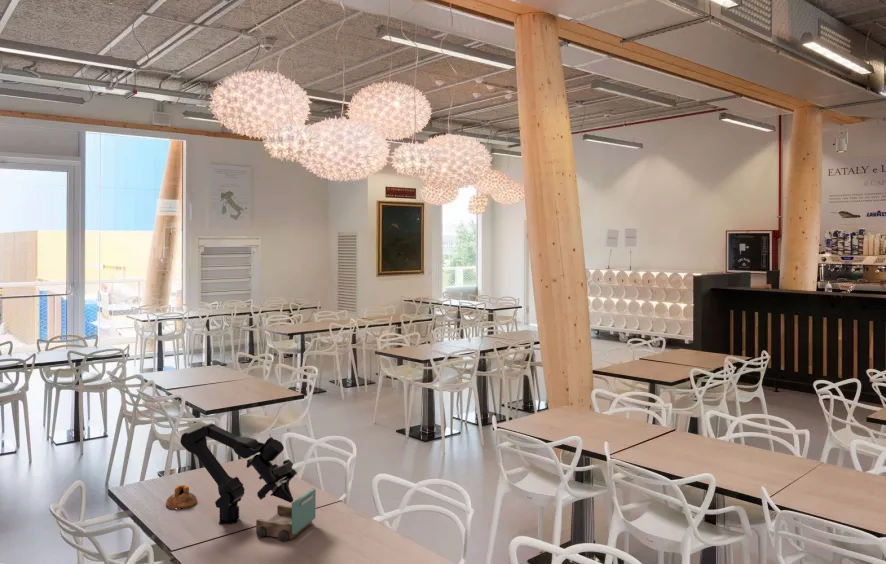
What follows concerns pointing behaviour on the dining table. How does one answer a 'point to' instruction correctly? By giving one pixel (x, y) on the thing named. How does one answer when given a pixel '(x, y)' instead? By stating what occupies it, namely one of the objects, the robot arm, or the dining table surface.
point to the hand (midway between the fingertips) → (292, 501)
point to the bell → (181, 498)
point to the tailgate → (303, 510)
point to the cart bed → (278, 524)
